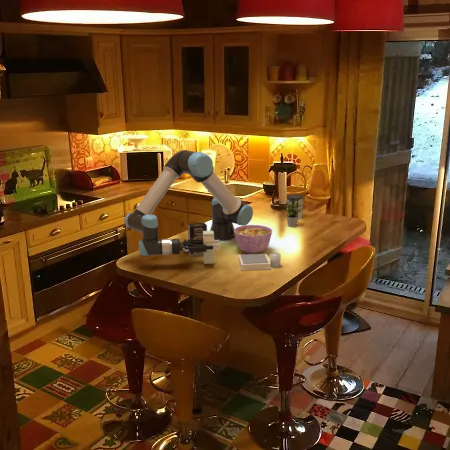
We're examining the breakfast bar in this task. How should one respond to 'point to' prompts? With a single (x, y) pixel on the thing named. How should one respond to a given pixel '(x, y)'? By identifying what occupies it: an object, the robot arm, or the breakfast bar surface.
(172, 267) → the breakfast bar surface
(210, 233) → the slim carton
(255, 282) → the breakfast bar surface
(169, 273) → the breakfast bar surface
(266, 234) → the bowl of food
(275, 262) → the white rounded capsule
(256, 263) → the podium
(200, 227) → the coffee box
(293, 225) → the house plant
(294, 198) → the coffee can
